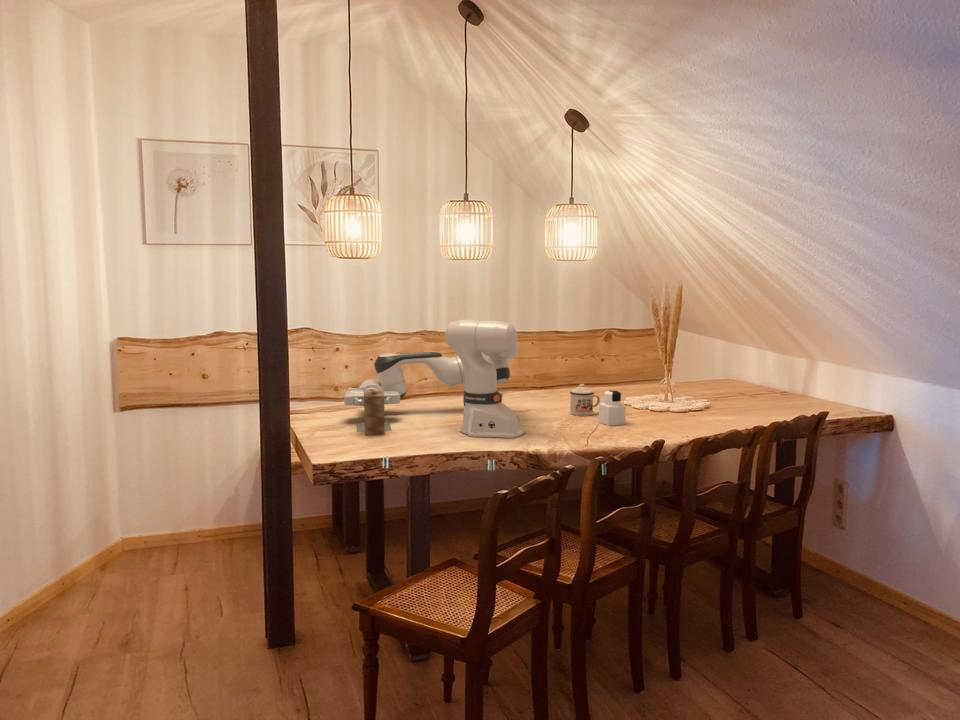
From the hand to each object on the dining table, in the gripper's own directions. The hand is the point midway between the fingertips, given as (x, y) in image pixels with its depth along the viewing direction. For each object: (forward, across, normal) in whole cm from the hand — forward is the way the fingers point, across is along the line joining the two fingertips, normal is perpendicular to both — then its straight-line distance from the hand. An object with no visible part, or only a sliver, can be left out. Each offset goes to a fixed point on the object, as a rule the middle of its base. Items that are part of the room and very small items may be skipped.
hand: (372, 402), depth 291 cm
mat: (+3, 0, -9) cm, 9 cm away
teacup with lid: (-11, -82, -9) cm, 83 cm away
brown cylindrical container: (+11, 0, -9) cm, 14 cm away
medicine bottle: (+8, -86, -9) cm, 87 cm away
